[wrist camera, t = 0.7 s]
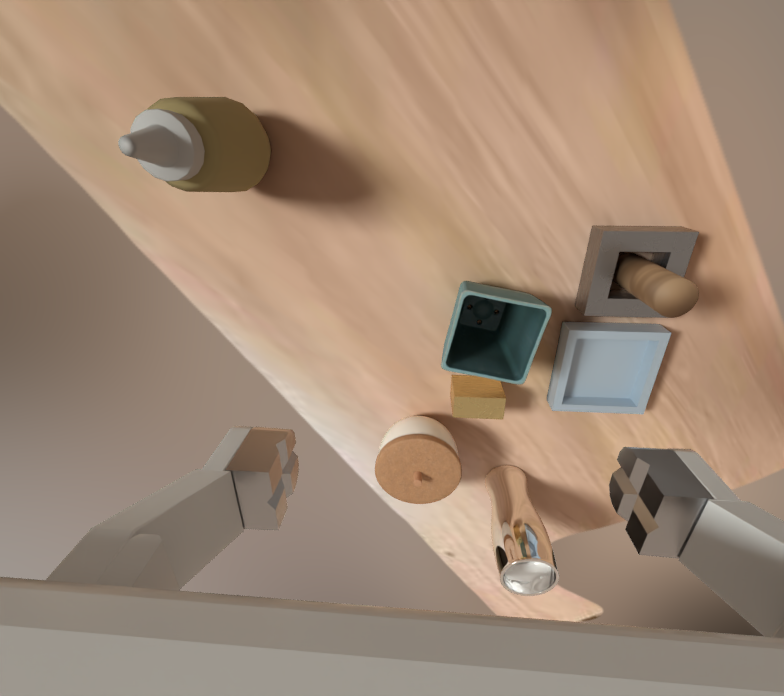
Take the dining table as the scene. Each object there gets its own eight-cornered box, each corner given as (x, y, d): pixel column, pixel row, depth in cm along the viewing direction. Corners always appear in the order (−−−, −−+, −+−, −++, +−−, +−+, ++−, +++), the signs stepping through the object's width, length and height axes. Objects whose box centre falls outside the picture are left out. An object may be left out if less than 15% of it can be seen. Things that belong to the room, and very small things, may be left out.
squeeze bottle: (218, 83, 39) (72, 37, 23) (294, 130, 40) (207, 117, 24) (195, 163, 42) (54, 172, 26) (265, 203, 43) (172, 236, 27)
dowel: (612, 252, 43) (661, 279, 34) (646, 252, 43) (704, 280, 34) (604, 283, 45) (650, 317, 36) (637, 283, 44) (690, 318, 35)
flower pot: (455, 264, 45) (462, 289, 37) (531, 279, 45) (554, 307, 37) (437, 333, 49) (440, 370, 41) (507, 347, 49) (523, 386, 41)
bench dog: (451, 374, 51) (454, 396, 47) (498, 376, 51) (506, 398, 46) (450, 394, 53) (452, 417, 48) (496, 396, 52) (503, 419, 48)
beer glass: (496, 455, 57) (519, 550, 43) (539, 472, 58) (574, 571, 44) (472, 487, 60) (487, 585, 46) (513, 503, 61) (538, 603, 47)
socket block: (592, 225, 42) (603, 230, 39) (681, 226, 41) (699, 231, 39) (574, 305, 46) (584, 315, 43) (655, 307, 45) (670, 317, 43)
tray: (562, 321, 47) (569, 330, 45) (659, 324, 46) (671, 332, 44) (546, 399, 52) (552, 410, 50) (633, 402, 51) (643, 414, 49)
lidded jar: (473, 429, 55) (482, 479, 47) (424, 473, 59) (424, 527, 51) (412, 387, 53) (409, 433, 44) (365, 437, 57) (355, 486, 49)
